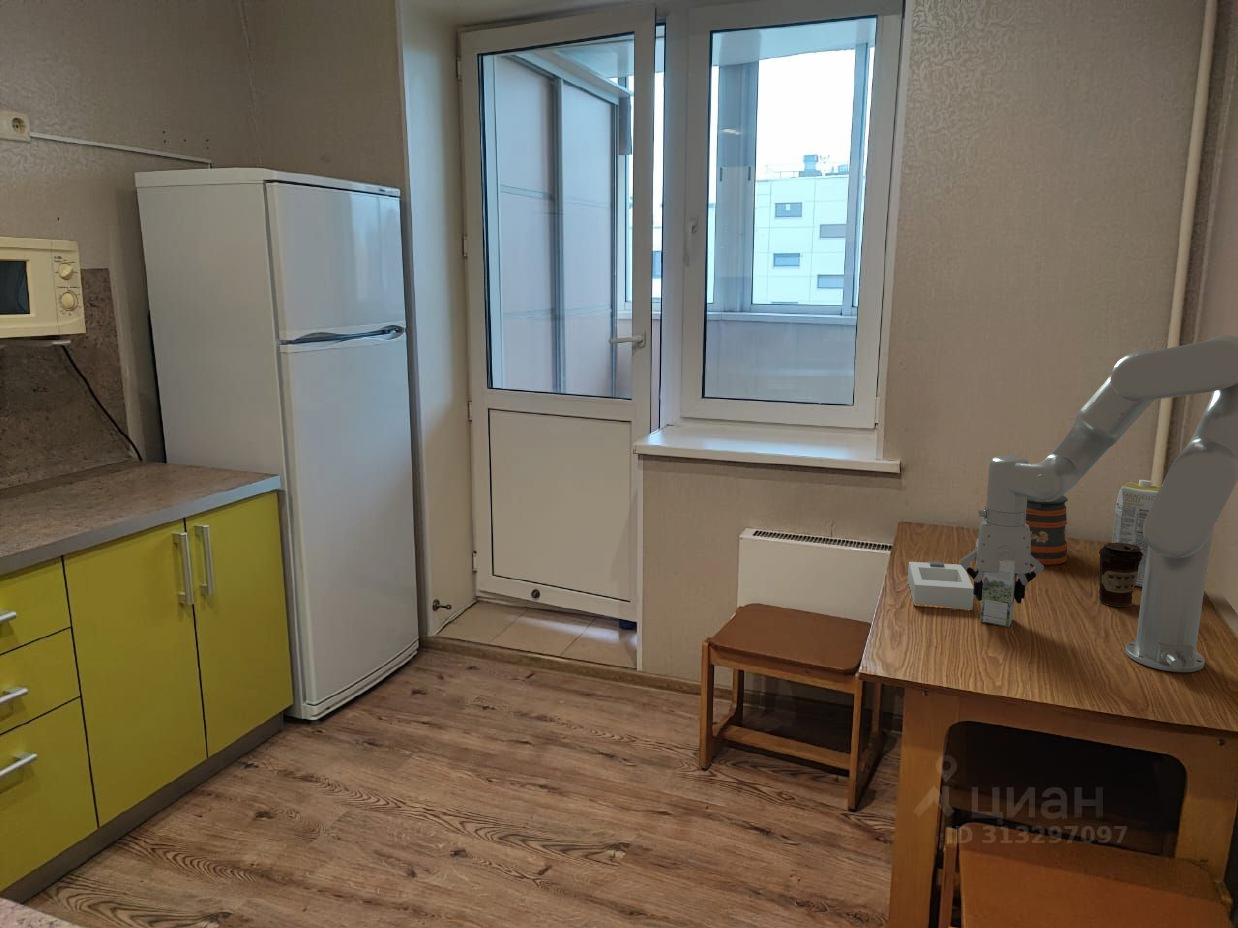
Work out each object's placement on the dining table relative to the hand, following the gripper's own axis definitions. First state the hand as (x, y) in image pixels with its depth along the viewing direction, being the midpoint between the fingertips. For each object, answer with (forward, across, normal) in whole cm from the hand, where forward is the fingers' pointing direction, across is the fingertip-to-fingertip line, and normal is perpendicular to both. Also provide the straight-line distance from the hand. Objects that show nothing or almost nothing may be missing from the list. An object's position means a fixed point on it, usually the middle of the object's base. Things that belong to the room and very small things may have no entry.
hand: (998, 599), depth 180 cm
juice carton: (+5, +35, +32) cm, 48 cm away
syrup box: (+5, 0, 0) cm, 5 cm away
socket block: (+5, -10, +13) cm, 17 cm away
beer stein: (+5, +17, +49) cm, 52 cm away
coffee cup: (+5, +27, +16) cm, 32 cm away
